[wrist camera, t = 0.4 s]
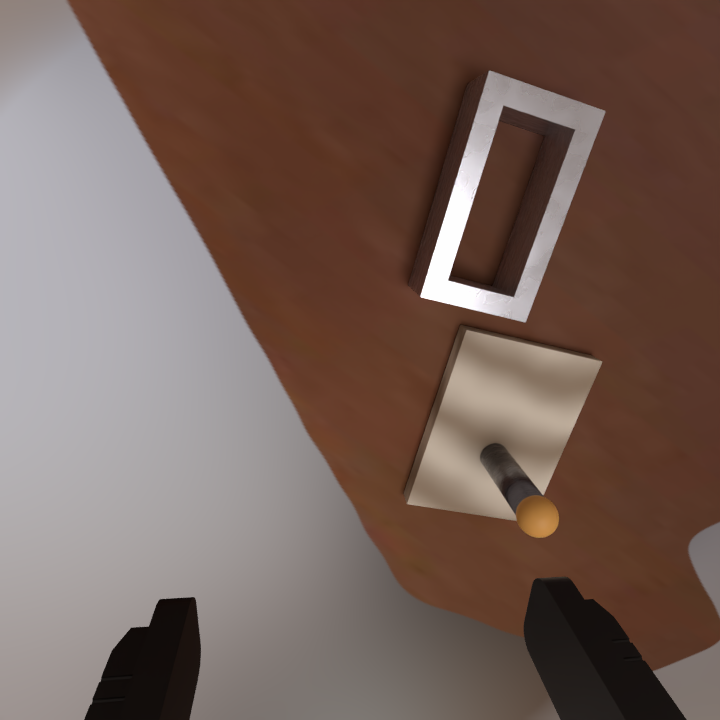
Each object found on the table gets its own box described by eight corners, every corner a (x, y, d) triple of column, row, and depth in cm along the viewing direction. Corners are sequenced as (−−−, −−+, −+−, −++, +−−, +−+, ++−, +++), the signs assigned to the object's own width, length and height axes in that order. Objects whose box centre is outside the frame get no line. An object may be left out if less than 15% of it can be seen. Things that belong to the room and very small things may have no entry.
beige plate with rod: (460, 324, 38) (519, 375, 28) (592, 355, 40) (690, 412, 30) (403, 493, 43) (435, 589, 33) (523, 512, 45) (589, 607, 35)
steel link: (467, 83, 32) (489, 70, 28) (571, 119, 34) (605, 110, 30) (407, 285, 36) (420, 296, 33) (503, 309, 38) (525, 322, 34)
